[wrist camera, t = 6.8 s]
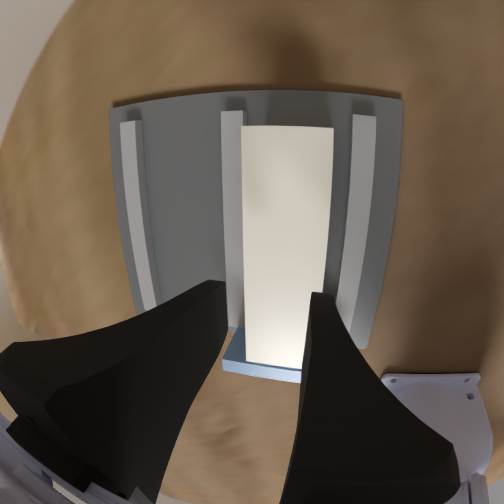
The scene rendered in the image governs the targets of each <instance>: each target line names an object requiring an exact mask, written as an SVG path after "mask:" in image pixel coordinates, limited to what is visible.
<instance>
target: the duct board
mask: <svg viewBox="0 0 504 504" xmlns="http://www.w3.org/2000/svg"><path fill="white" fill-rule="evenodd" d="M109 123H110V143H111V158H112V170H113V180H114V189H115V198H116V206H117V213H118V220H119V227H120V234H121V240H122V246H123V251H124V257H125V262H126V267H127V272H128V277H129V282H130V287H131V291H132V296H133V300H134V305H135V309H136V313H138V314H142V313H144V312H146V311H148V310H150V309H152V308H154V307H156V306H158V305H160V304H162V303H165V302H166V301H168V300H170V299H172V298H174V297H176V296H178V295H179V294H181V293H183V292H185V291H187V290H189V289H190V288H192V287H194V286H196V285H198V284H200V283H202V282H204V281H206V280H209V279H210V280H218V281H226V297H227V315H228V332H231V333H235V334H234V336H233V338H232V340H231V342H230V344H229V346H228V348H227V350H226V352H225V354H224V356H223V358H222V363H223V370H224V371H229V372H234V373H240V374H245V375H251V376H256V377H262V378H268V379H275V380H282V381H289V382H296V383H301V370H302V369H297V368H289V367H282V366H275V365H268V364H262V363H255V362H249V361H246V337H245V300H244V260H243V213H242V157H241V126H304V127H323V128H334V139H333V168H332V188H331V204H330V218H329V231H328V242H327V253H326V263H325V273H324V281H323V290H322V293H330V294H331V295H332V296H333V298H334V301H335V304H336V307H337V309H338V312H339V314H340V316H341V318H342V321H343V323H344V325H345V327H346V328H347V330H348V332H349V334H350V336H351V338H352V340H353V341H354V343H355V345H356V346H357V348H360V349H366V347H367V344H368V341H369V337H370V333H371V330H372V326H373V322H374V318H375V314H376V310H377V306H378V302H379V298H380V293H381V289H382V284H383V280H384V275H385V270H386V265H387V260H388V254H389V249H390V243H391V237H392V231H393V224H394V217H395V210H396V202H397V194H398V184H399V174H400V162H401V148H402V126H403V100H400V99H394V98H387V97H380V96H372V95H363V94H354V93H343V92H329V91H310V90H249V91H230V92H216V93H205V94H195V95H186V96H178V97H171V98H164V99H157V100H151V101H145V102H140V103H135V104H129V105H124V106H120V107H115V108H111V109H109Z"/></svg>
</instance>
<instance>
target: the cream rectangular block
mask: <svg viewBox="0 0 504 504" xmlns="http://www.w3.org/2000/svg"><path fill="white" fill-rule="evenodd" d="M333 139H334V128H323V127H304V126H241V157H242V213H243V260H244V300H245V337H246V361H249V362H255V363H262V364H268V365H275V366H282V367H289V368H297V369H302V361H303V354H304V346H305V339H306V331H307V323H308V315H309V306H310V299H311V293H312V292H321V293H322V290H323V281H324V273H325V263H326V253H327V242H328V231H329V218H330V204H331V188H332V168H333Z"/></svg>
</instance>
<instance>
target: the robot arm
mask: <svg viewBox="0 0 504 504" xmlns="http://www.w3.org/2000/svg"><path fill="white" fill-rule="evenodd" d="M227 332H228V315H227V297H226V281H218V280H210V279H209V280H206V281H204V282H202V283H200V284H198V285H196V286H194V287H192V288H190V289H189V290H187V291H185V292H183V293H181V294H179V295H178V296H176V297H174V298H172V299H170V300H168V301H166V302H165V303H162V304H160V305H158V306H156V307H154V308H152V309H150V310H148V311H146V312H144V313H142V314H140V315H137V316H135V317H133V318H130V319H128V320H125V321H122V322H120V323H117V324H114V325H111V326H108V327H105V328H101V329H98V330H94V331H90V332H87V333H83V334H79V335H74V336H69V337H64V338H58V339H51V340H42V341H28V342H14V343H12V344H11V345H9V346H8V347H7V348H6V349H5V350H4V351H3V352H1V353H0V391H1V393H2V394H3V396H4V397H5V398H6V400H7V401H8V403H9V404H10V405H11V407H12V408H13V409H14V411H15V412H16V413H17V415H18V417H17V418H16V419H15V420H14V421H13V422H12V423H11V422H10V421H9V420H7V419H6V418H5V417H4V416H3V415H2V414H1V413H0V504H74V503H73V502H71V501H70V500H69V499H67V498H66V497H65V496H63V495H62V494H61V493H59V492H58V491H57V490H55V489H54V488H53V482H52V480H53V481H55V482H56V483H57V484H59V485H60V486H61V487H63V488H64V489H66V490H67V491H69V492H70V493H72V494H73V495H75V496H76V497H78V498H79V499H81V500H82V501H84V502H85V503H87V504H155V503H156V500H157V497H158V493H159V490H160V487H161V483H162V480H163V477H164V474H165V471H166V468H167V465H168V462H169V459H170V456H171V453H172V451H173V448H174V446H175V443H176V440H177V438H178V435H179V432H180V430H181V428H182V425H183V423H184V420H185V418H186V415H187V413H188V411H189V408H190V406H191V404H192V402H193V400H194V399H195V397H196V395H197V393H198V391H199V390H200V388H201V386H202V384H203V383H204V381H205V379H206V377H207V375H208V374H209V372H210V370H211V368H212V366H213V364H214V363H215V361H216V359H217V357H218V355H219V353H220V351H221V348H222V346H223V343H224V340H225V338H226V335H227ZM480 378H481V376H480V374H479V373H465V374H390V373H389V374H385V375H383V376H382V378H381V380H380V379H379V378H378V376H377V375H376V374H375V373H374V371H373V370H372V369H371V367H370V366H369V365H368V363H367V362H366V360H365V359H364V357H363V356H362V354H361V353H360V351H359V350H358V348H357V346H356V345H355V343H354V341H353V340H352V338H351V336H350V334H349V332H348V330H347V328H346V327H345V325H344V323H343V321H342V318H341V316H340V314H339V312H338V309H337V307H336V304H335V301H334V298H333V296H332V295H331V294H330V293H321V292H312V293H311V299H310V306H309V315H308V323H307V331H306V339H305V346H304V354H303V361H302V370H301V385H300V399H299V411H298V422H297V429H296V435H295V440H294V444H293V449H292V454H291V458H290V463H289V467H288V471H287V475H286V480H285V484H284V488H283V492H282V496H281V500H280V503H279V504H489V498H488V490H487V483H486V477H485V476H484V475H482V474H483V473H484V472H485V470H486V469H487V467H488V465H489V463H490V460H491V457H492V452H493V434H492V429H491V426H490V422H489V419H488V416H487V412H486V409H485V406H484V403H483V400H482V397H481V394H480V391H479V388H478V386H477V383H478V382H479V380H480ZM392 379H394V380H392ZM51 479H52V480H51Z"/></svg>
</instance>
